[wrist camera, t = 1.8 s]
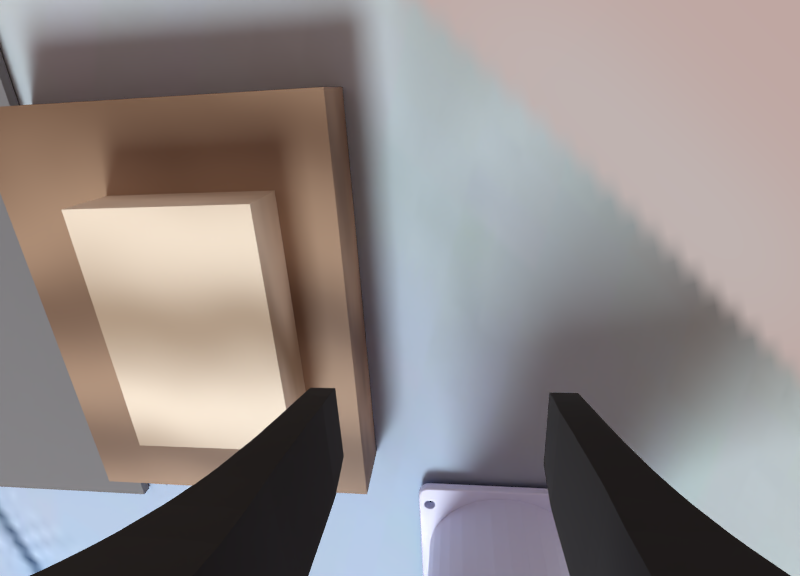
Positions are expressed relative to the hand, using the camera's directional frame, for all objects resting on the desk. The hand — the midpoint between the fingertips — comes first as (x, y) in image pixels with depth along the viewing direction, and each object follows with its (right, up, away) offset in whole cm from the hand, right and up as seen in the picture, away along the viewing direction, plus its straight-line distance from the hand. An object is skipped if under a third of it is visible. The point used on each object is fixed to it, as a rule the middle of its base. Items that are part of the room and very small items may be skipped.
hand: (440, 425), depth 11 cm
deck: (-8, +3, +9) cm, 13 cm away
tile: (-8, +2, +6) cm, 10 cm away
